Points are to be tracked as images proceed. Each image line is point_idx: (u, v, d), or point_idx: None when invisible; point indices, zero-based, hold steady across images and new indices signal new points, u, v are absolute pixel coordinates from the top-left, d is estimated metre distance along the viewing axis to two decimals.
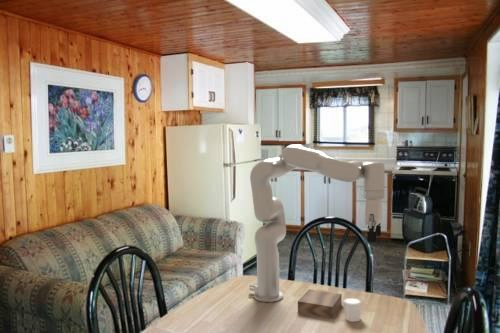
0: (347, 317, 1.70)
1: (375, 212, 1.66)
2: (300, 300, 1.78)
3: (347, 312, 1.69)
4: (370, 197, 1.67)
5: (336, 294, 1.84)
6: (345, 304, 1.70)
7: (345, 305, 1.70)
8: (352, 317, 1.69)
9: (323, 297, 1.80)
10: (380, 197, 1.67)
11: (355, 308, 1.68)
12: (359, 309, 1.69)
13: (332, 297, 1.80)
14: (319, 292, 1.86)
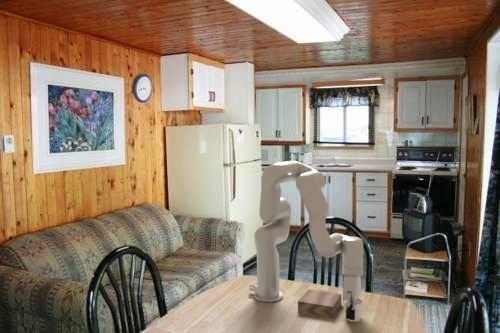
0: None
1: (353, 290, 1.65)
2: (300, 300, 1.78)
3: None
4: (348, 274, 1.67)
5: (336, 294, 1.84)
6: (345, 304, 1.70)
7: (345, 305, 1.70)
8: None
9: (323, 297, 1.80)
10: (358, 274, 1.66)
11: (355, 308, 1.68)
12: (359, 309, 1.69)
13: (332, 297, 1.81)
14: (319, 292, 1.86)
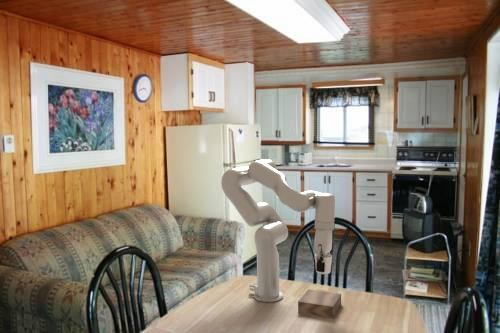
0: None
1: (324, 243, 1.72)
2: (300, 300, 1.78)
3: None
4: (319, 228, 1.74)
5: (335, 294, 1.84)
6: (316, 257, 1.77)
7: (316, 258, 1.77)
8: None
9: (323, 297, 1.80)
10: (329, 228, 1.73)
11: (325, 261, 1.75)
12: (329, 262, 1.76)
13: (332, 297, 1.81)
14: (319, 292, 1.86)
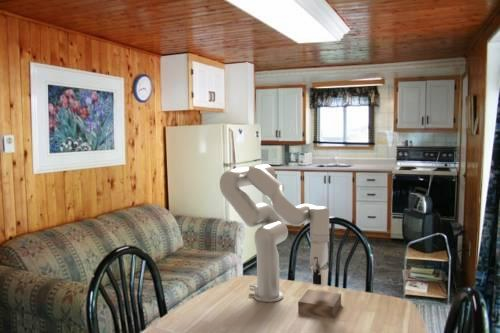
0: None
1: (319, 256, 1.74)
2: (300, 300, 1.78)
3: None
4: (315, 241, 1.76)
5: (335, 294, 1.84)
6: (312, 270, 1.78)
7: (312, 271, 1.78)
8: None
9: (323, 297, 1.80)
10: (324, 241, 1.75)
11: (322, 273, 1.77)
12: (326, 274, 1.78)
13: (332, 297, 1.81)
14: (318, 292, 1.86)
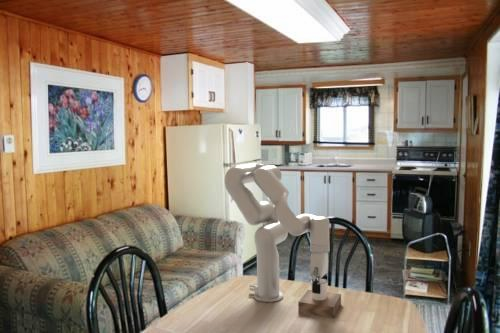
0: (314, 296, 1.79)
1: (319, 266, 1.74)
2: (301, 301, 1.78)
3: None
4: (315, 251, 1.76)
5: (335, 294, 1.84)
6: None
7: None
8: (318, 296, 1.78)
9: None
10: (324, 251, 1.75)
11: (321, 287, 1.77)
12: (325, 288, 1.78)
13: (332, 297, 1.81)
14: None
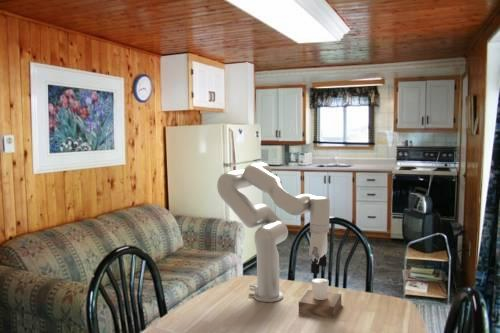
0: (315, 296, 1.79)
1: (319, 246, 1.74)
2: (301, 301, 1.78)
3: (315, 291, 1.79)
4: (315, 231, 1.75)
5: (336, 294, 1.84)
6: (313, 283, 1.79)
7: (313, 284, 1.79)
8: (319, 296, 1.78)
9: None
10: (324, 231, 1.75)
11: (322, 287, 1.77)
12: (326, 288, 1.78)
13: (332, 297, 1.81)
14: None
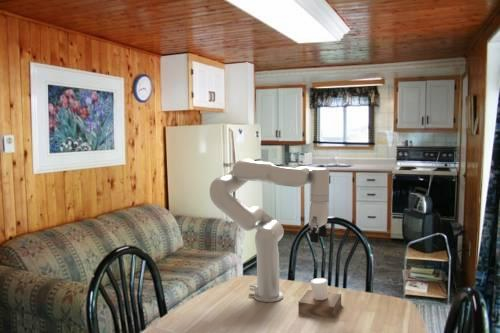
0: (316, 296, 1.78)
1: (318, 215, 1.79)
2: (301, 301, 1.78)
3: (316, 292, 1.78)
4: (314, 201, 1.80)
5: (336, 294, 1.84)
6: (313, 284, 1.78)
7: (313, 285, 1.78)
8: (321, 296, 1.77)
9: None
10: (323, 201, 1.79)
11: (323, 287, 1.77)
12: (326, 287, 1.78)
13: (332, 297, 1.81)
14: None
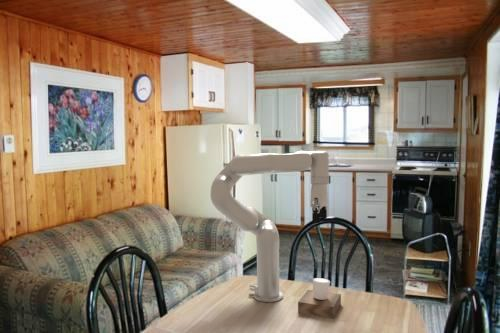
0: (318, 296, 1.78)
1: (319, 196, 1.85)
2: (300, 301, 1.78)
3: (319, 291, 1.78)
4: (315, 182, 1.87)
5: (335, 294, 1.84)
6: (317, 283, 1.78)
7: (317, 284, 1.78)
8: (323, 295, 1.78)
9: None
10: (324, 183, 1.86)
11: (327, 286, 1.78)
12: (328, 287, 1.79)
13: (332, 297, 1.81)
14: None
